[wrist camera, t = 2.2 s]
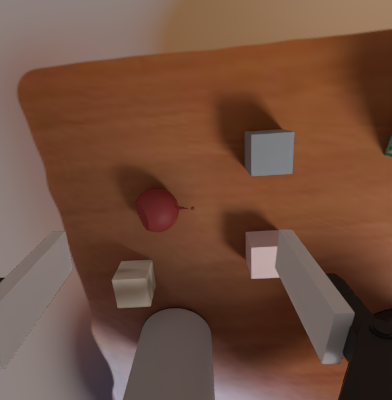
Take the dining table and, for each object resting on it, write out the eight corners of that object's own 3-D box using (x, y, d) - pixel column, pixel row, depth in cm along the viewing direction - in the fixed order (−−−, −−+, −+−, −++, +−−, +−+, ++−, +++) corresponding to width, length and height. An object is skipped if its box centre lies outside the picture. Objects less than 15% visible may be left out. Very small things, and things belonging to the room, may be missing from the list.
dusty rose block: (277, 258, 41) (286, 277, 37) (245, 259, 42) (251, 278, 37) (278, 229, 40) (288, 245, 35) (245, 231, 40) (251, 247, 35)
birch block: (155, 285, 43) (150, 306, 39) (126, 286, 44) (117, 308, 39) (152, 259, 42) (146, 278, 37) (121, 260, 42) (111, 280, 37)
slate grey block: (280, 165, 37) (292, 173, 32) (244, 167, 37) (251, 176, 32) (281, 128, 35) (294, 131, 30) (244, 131, 35) (251, 134, 30)
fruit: (175, 215, 41) (199, 229, 35) (142, 229, 39) (160, 247, 32) (165, 179, 40) (189, 186, 33) (130, 191, 37) (147, 201, 30)
